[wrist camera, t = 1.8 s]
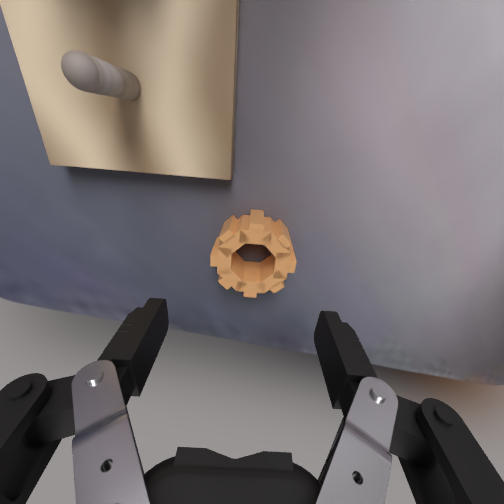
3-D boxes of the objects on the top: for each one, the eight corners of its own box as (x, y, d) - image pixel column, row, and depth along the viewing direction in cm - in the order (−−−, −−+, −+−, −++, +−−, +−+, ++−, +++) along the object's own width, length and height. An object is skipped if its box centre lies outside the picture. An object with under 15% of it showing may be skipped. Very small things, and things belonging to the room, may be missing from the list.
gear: (296, 213, 18) (303, 227, 16) (285, 278, 21) (288, 300, 19) (217, 206, 18) (210, 220, 16) (216, 273, 21) (210, 294, 18)
